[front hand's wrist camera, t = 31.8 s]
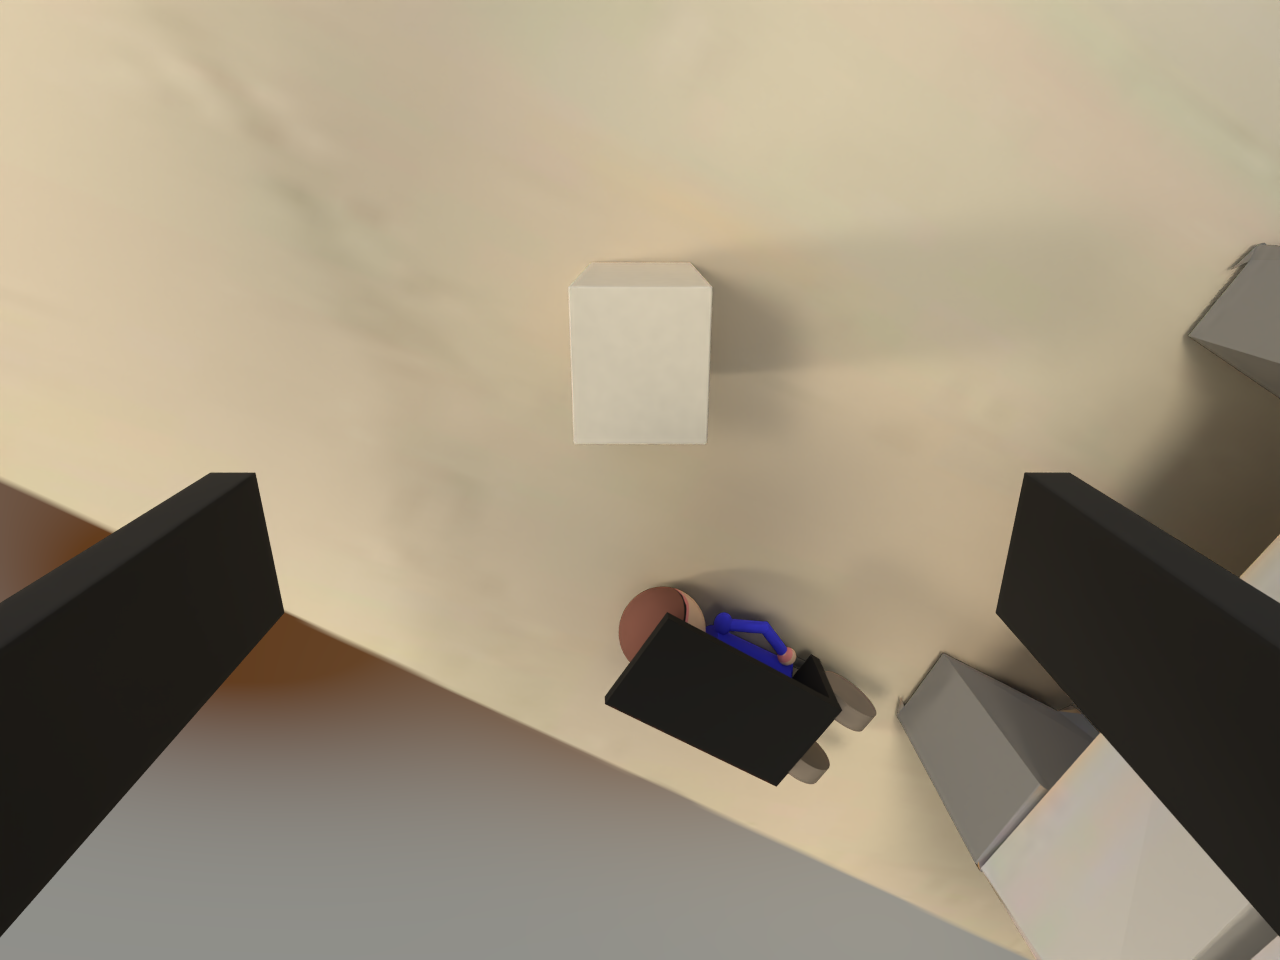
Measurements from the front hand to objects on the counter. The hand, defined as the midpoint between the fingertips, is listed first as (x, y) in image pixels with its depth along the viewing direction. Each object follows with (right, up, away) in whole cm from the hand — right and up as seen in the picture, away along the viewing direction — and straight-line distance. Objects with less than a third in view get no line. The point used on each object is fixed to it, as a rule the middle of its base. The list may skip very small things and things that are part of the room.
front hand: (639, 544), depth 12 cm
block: (0, +9, +24) cm, 26 cm away
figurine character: (+6, -9, +31) cm, 33 cm away
